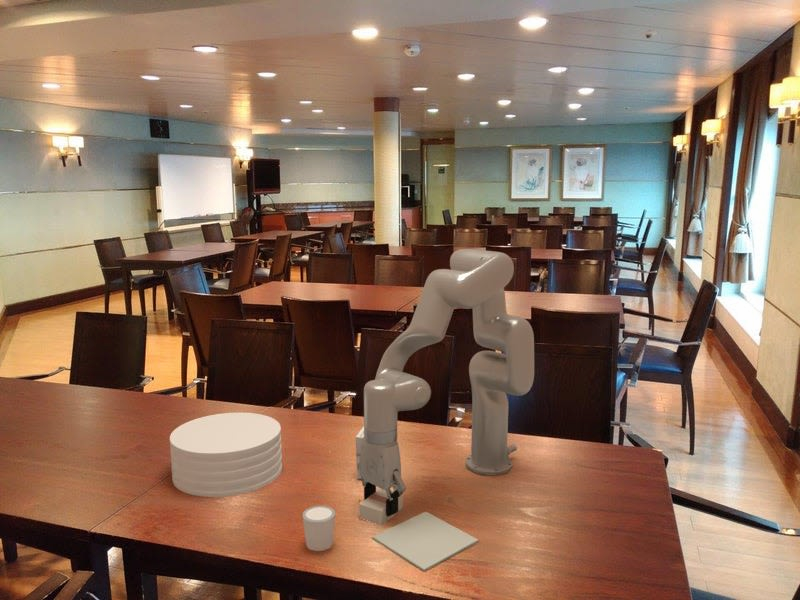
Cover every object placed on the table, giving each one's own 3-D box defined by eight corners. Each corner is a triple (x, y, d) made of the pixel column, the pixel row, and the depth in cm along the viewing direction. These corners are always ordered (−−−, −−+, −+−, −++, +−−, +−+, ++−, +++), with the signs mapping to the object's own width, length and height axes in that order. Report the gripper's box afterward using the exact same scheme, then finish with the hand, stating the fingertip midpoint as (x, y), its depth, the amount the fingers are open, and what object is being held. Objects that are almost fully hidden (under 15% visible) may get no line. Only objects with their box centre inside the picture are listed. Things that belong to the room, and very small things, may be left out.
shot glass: (304, 535, 138) (303, 505, 137) (336, 534, 139) (335, 504, 138) (302, 553, 132) (301, 522, 131) (335, 552, 132) (335, 520, 131)
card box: (381, 502, 153) (381, 487, 153) (402, 508, 150) (402, 493, 149) (359, 518, 146) (359, 503, 145) (381, 525, 143) (381, 510, 142)
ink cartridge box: (364, 465, 173) (363, 413, 170) (381, 467, 172) (381, 415, 169) (355, 479, 165) (354, 425, 162) (374, 481, 164) (373, 427, 161)
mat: (425, 513, 148) (425, 511, 148) (478, 541, 136) (478, 539, 136) (372, 538, 137) (372, 536, 137) (424, 571, 126) (424, 569, 125)
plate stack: (303, 471, 170) (302, 430, 168) (209, 509, 150) (206, 463, 148) (243, 442, 189) (242, 405, 187) (152, 473, 169) (149, 432, 167)
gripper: (344, 428, 148) (345, 499, 152) (393, 450, 136) (393, 528, 139) (369, 420, 153) (369, 489, 156) (419, 441, 141) (418, 516, 144)
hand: (380, 507), depth 148 cm, fingers closed on card box, 7 cm apart
